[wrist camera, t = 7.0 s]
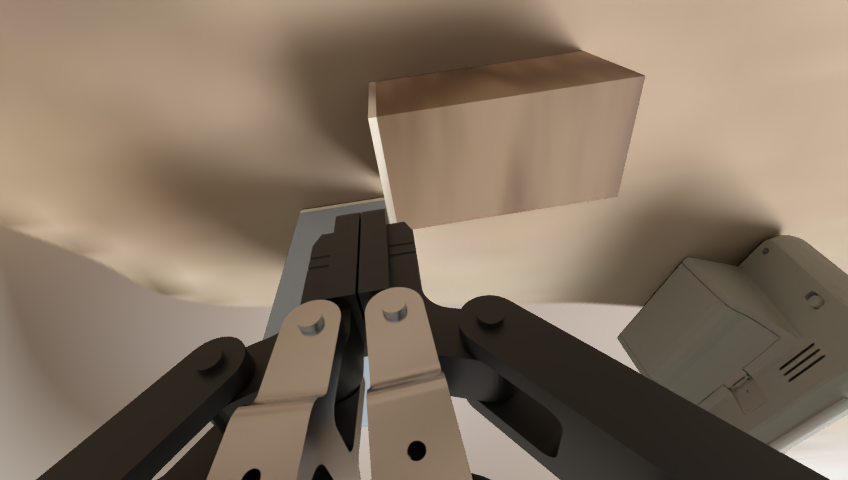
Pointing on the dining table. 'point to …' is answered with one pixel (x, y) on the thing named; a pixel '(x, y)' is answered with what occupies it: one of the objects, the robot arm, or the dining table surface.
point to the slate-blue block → (297, 264)
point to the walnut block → (502, 137)
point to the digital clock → (752, 340)
